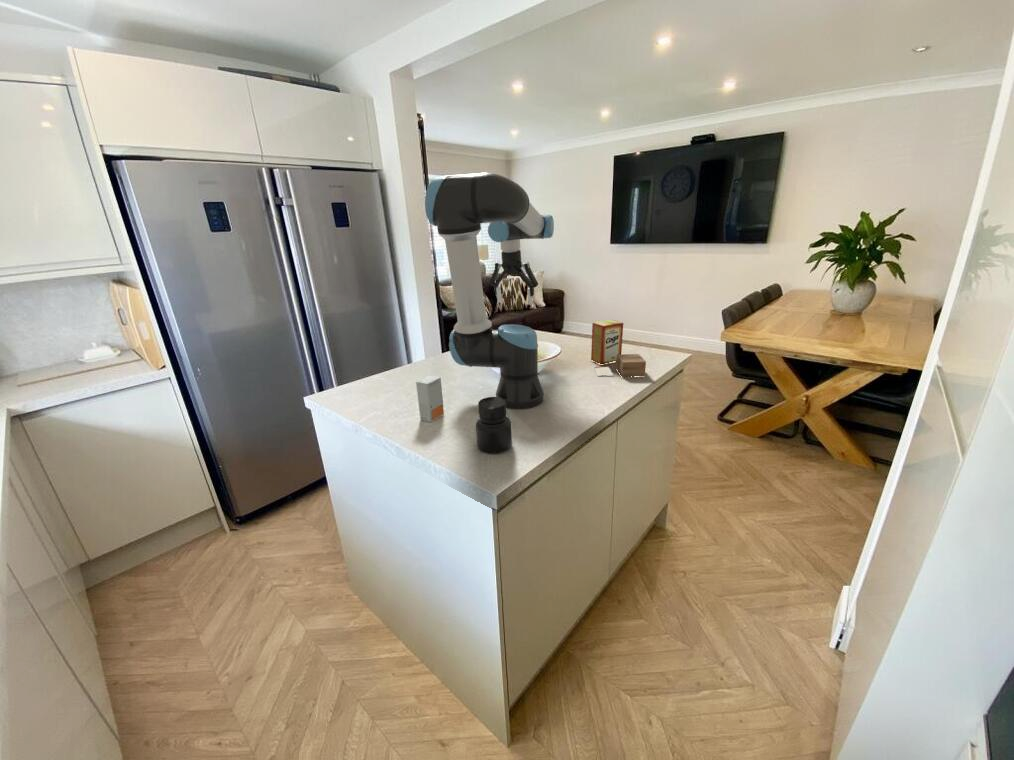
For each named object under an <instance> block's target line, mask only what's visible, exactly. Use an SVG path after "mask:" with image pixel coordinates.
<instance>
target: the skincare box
mask: <svg viewBox="0 0 1014 760" xmlns="http://www.w3.org/2000/svg"><path fill="white" fill-rule="evenodd" d="M415 383H416V391H417V401H418V410H419V417H420V418H419V419H420V420H421V421H424V422H427V423H432V422H434V421H435V420H436V421H437V420H438V419H439V418H441V417H442V416H444V415H445V410H444V400H443V399H444V398H443V390H442V389H443V387H442V379H441V377H439V376H436V375H435V376H434V375H428V376H426V377H424V378H421V379H420V380H417V381H416V382H415Z"/></svg>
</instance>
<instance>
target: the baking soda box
mask: <svg viewBox="0 0 1014 760" xmlns="http://www.w3.org/2000/svg"><path fill="white" fill-rule="evenodd" d="M623 331H624V322H621V321H618V320H614V319H609V320H607V319H606V320H602V321H597V322H592V328H591V353H590V354H591V356H590V361H591V360H593V361H595V362H597V363H600V364H605V363H609V362H613V361H616V359H617V355H622V348H623V337H624V336H623Z"/></svg>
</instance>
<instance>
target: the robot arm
mask: <svg viewBox="0 0 1014 760" xmlns="http://www.w3.org/2000/svg"><path fill="white" fill-rule="evenodd" d="M424 210H425V215H426V218H427V220H428V222H429V223H430V224H431V225H432V226H434V227H436V229H437V234H438V236H439V237H441V238H442V239H444V242H445V247H446V254H447V261H448V267H449V274H450V280H451V286H452V292H453V299H454V307H455V312H456V319H457V321H456V323H454V325H453V330H451V332H450V334H449V338H448V339H449V342H448V347H449V352H450V355H451V358H452V359H453V361H454V362H455V363H456V364H458V365H460V366H465V367H471V368H472V367H479V368H481V367H482V368H499V370H500V371H499V372H500V377H499V382H498V386H497V389H496V392H495V397H500V398H503V399H504V400H506V409H507V408H508V409H515V410H516V409H518V410H519V409H523V410H524V409H530V408H533V407H537V406H539V405H541V404H542V403H543V401H544V398H545V397H544V395H545V393H544V390H543V387H542V384H541V381H540V377H539V372H538V369H539V365H538V361H539V358H538V357H539V356H538V354H539V351H538V348H539V344H538V334H537V333H536V331H535V330H534V329H533V328H531V327H529V326H526V325H523V324H522V325H521V324H513V323H512V324H502V325H500V326H499V327H498V329H493V325H492V321H491V320H490V319H488V318H487V313H486V305H485V298H484V291H483V282H482V280H483V279H482V273H481V264H480V255H479V247H478V239H477V236H478V235H479V233H480V232H481V230H482V225H481V224H488V223H489V225H488V227H487V232H488V236H489V238H490V239H491V241H493V242H495V243H500V250H501V253H500V255H501V262H500V261H497V262H495V263H494V269H493V273H492V276H491V278H490V281H489V286H491V287H493V288H494V289H493V290H494V294H495V295H496V299H497V304H500V303H501V302H502V301H503V299H502V289H501V285H500V284H501V282H502V281H503V279H504V278H505V276H506V275H509V276H510V275H513V276H514V275H517V276H518V277H519V278H521V280H522V281H523V283H524V284H525V285H526V286H527V287H528V288H527V300H528V301H527V303H528V305H529V306H531V305H532V304H533V296H534V295H535V288H537V287H538V286H539V283H538V280H537V279H536V276H535V274H534V273H533V271H532V269H531V266H530V262H528V261H527V262H524V263H523V262H522V254H521V240H531V239H532V240H533V239H535V240H536V239H538V240H539V239H540V240H541V239H542V240H543V239H551V238H552V237H553V235H554V229H555V228H554V225H555V223H554V222H555V221H554V218H553V216H552V215H551V214H541V213H540V212H539V211H538V210H537V209H536V208H535V206H534V205H533V204H532V203H531V202H530V197H529V195H528V193H527V192H526V190H525V189H524V188H523V187H522V186H520V184H518V183H517V182H515V181H513V180H512V179H510V178H507V177H506V176H503V175H501V174H498V173H493V172H480V173H467V174H465V173H464V174H453V175H451V174H450V175H448V174H446V175H443V176H439V177H438V176H437V177H435V178H433V179H431V180H430V181H429V183H428V185H427V189H426V191H425V196H424ZM501 268H502V270H503V271H502V273H501V274H500V275H499V271H500V269H501ZM522 268H523V269H524V270H525V272H524V270H523V269H522ZM525 273H526V274H525ZM498 275H499V277H498ZM497 277H498V278H497Z"/></svg>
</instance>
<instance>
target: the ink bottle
mask: <svg viewBox="0 0 1014 760" xmlns="http://www.w3.org/2000/svg"><path fill="white" fill-rule="evenodd" d="M477 407H478V416H479V417H478V419H477V420H476V422H475V436H476V447H477V449H478V451H479V452H482V453H485V454H490V455H493V454H494V455H495V454H503V453H505V452H508V450H510V448H512V444H513V436H512V435H513V434H512V421H511V419H510V418H509V417H508V416H507V407H506V400H504V399H503V398H500V397H496V396H488V397H484V398H482V399H480V400H479V401H478V404H477Z"/></svg>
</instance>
